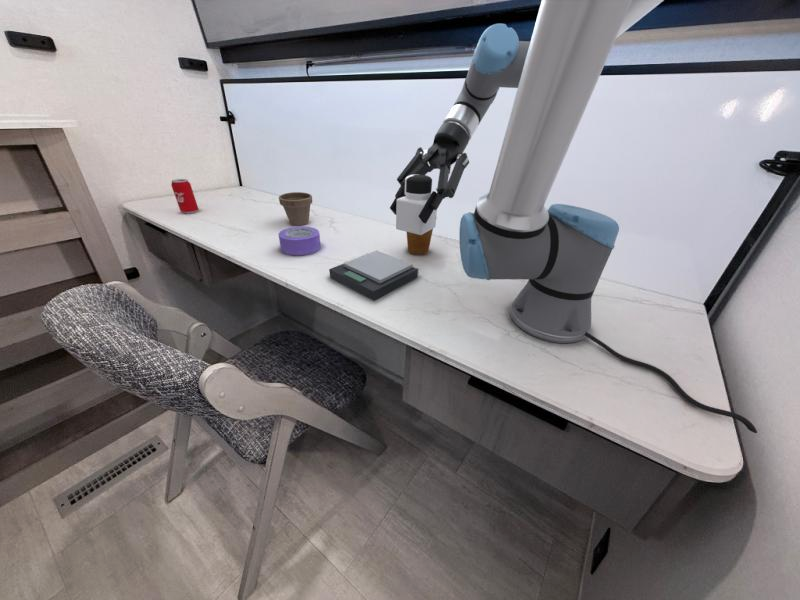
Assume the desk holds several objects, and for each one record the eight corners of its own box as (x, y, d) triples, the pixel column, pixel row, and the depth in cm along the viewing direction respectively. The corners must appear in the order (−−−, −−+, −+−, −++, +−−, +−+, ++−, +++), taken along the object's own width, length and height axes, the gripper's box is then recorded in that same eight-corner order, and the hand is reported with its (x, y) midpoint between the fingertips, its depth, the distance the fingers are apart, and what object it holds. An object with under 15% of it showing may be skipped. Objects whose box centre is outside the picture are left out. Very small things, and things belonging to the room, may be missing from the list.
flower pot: (307, 229, 108) (303, 200, 103) (277, 227, 110) (272, 198, 104) (319, 220, 118) (316, 193, 113) (292, 217, 119) (288, 191, 114)
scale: (417, 277, 79) (418, 265, 78) (373, 300, 69) (373, 287, 67) (374, 259, 88) (374, 248, 86) (329, 277, 78) (328, 265, 76)
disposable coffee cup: (431, 258, 90) (435, 218, 83) (400, 255, 91) (401, 215, 85) (434, 247, 98) (438, 209, 91) (405, 244, 99) (407, 206, 93)
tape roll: (327, 243, 97) (326, 228, 95) (308, 258, 88) (306, 241, 85) (294, 239, 100) (292, 224, 97) (273, 252, 90) (269, 236, 88)
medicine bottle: (435, 227, 74) (440, 175, 68) (421, 235, 69) (425, 180, 63) (411, 221, 78) (413, 171, 71) (395, 229, 72) (396, 175, 66)
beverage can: (183, 210, 124) (172, 178, 117) (200, 209, 125) (190, 178, 119) (179, 214, 119) (167, 182, 112) (197, 213, 120) (186, 181, 114)
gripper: (499, 149, 68) (450, 235, 66) (426, 141, 80) (383, 215, 78) (492, 122, 62) (438, 216, 60) (414, 118, 74) (367, 197, 72)
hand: (407, 215), depth 69 cm, fingers closed on medicine bottle, 8 cm apart
